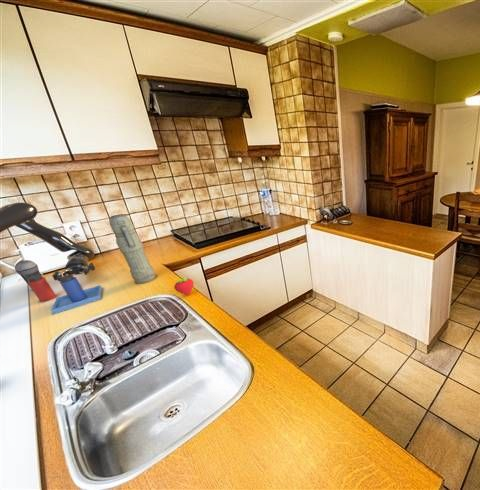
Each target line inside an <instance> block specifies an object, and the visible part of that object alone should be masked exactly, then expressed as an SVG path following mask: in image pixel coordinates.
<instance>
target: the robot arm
mask: <svg viewBox="0 0 480 490" xmlns="http://www.w3.org/2000/svg"><path fill="white" fill-rule="evenodd" d="M37 216H38V209H37V207H36V206H35V205H33V204H31V203H29V202H21V201H20V202H13V203H10V204H6V205H3V206H1V207H0V234H1V233H3V232H5V231H6V230H8V229H10V228H12V227H16V228H19V229H21V230H23V231H25V232H26V233H29V234H31V235H33V236H35V237H36V238H39V239H41V240H42V241H44V243H47V244H49V245H50V246H52V247H53V248H55V249H56V250H58V251H59V252H61V253H67V252H70V251H73V252H71V253H70V254H68V255H67V257H66V259H67V262H66V264H65V266H64V269H63V270H62V271H59V270H56V271H54V272H53V274H52V275H51V277H52V278H53V280H54V281H58V282H60V281H61V280H60V278H62V277H64V276H67V275H73V276H78V275H82V274H83V275H85V276H87V275H88V274H89V273H90V272H91V271H95V270H96V266H95V264H94V262H90V263H89V260H90V259H92V258H93V257H94V256H95V252H94V251H93V249H91V248H89V247H87V246H84V245H81V244H80V243H77V242H75V241H73V240H71V239H70V238H69V237H68V236H66V235H65V234H63V233H61V232H59V231H57V230H54V229H52V228H50V227H47V226H45V225H43V224H40V223H38V222H37V221H35V220H34V219H35V218H36V217H37Z"/></svg>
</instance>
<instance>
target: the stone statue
mask: <svg viewBox="0 0 480 490" xmlns="http://www.w3.org/2000/svg"><path fill="white" fill-rule="evenodd" d="M108 222H109V223H108V224H109V226H110V229H111V230H112V232H113V234H114V235H115V242H116V243H115V244H116V245H117V247H118V249H119V252H120V253H122V254H123V256H124V259H125V261H126V263H127V266H128V268H129V272H130V275H131V277H132V279H133V280H134V283H135V284H137V285H140V284H141V285H142V284H147V283H149V282H151V281H153V280H155V279H156V278H157V275H156V273H155V270H154V268H153V266H152V265H151V264H150V261H149V259H148V257H147V255H146V253H145V250H144V245H143V243H142V240H141V237H140V236H139V235H138V234H137V232H136V231H135V228H134V226H133V223H132V221H131V219H130V218H129V217H128V216H127V215H126V214H124V213H123V214H122V213H119V214H115V215H112V216H110V217H109V218H108Z"/></svg>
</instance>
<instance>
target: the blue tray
mask: <svg viewBox="0 0 480 490" xmlns="http://www.w3.org/2000/svg"><path fill="white" fill-rule="evenodd" d="M83 290H84V292H85V294H86V296H87V298H86V299H84V300H82V301H78V302H75V303H73V302H71V300H70V299H69V297H68V295H67V294H65V295H61V296H58V297H55V301H54V302H53V305H52V308H51V313H52V314H54V315H55V314H58V313H61V312H64V311H67V310H71V309H74V308H78V307H80V306H81V307H82V306H83V305H87V304H90V303H94V302H97V301H100V300H101V299H102V293H103V287H102V285H96V286H93V287H89V288H86V289H83Z"/></svg>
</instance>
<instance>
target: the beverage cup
mask: <svg viewBox="0 0 480 490" xmlns="http://www.w3.org/2000/svg"><path fill="white" fill-rule="evenodd" d="M19 255H20V256H21V259H22V260H20V261H18V262H16V264H15V265H14V271H15V272H16V273H17V274H18V275H19V276H20V277H21V278H22V280H23V281H24V282H25V283H26V284H27V285H28V286H29V287H30V285H29V284H28V281H29V280H28V278H30V277H32V276H36V275H41V276H42V274H41V272H40V269H39V266H38V264H37V263H36V262H35V261H33V260H28V259H27V260H26V259H25V257H24V255H23V253H22V251H19Z"/></svg>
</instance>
